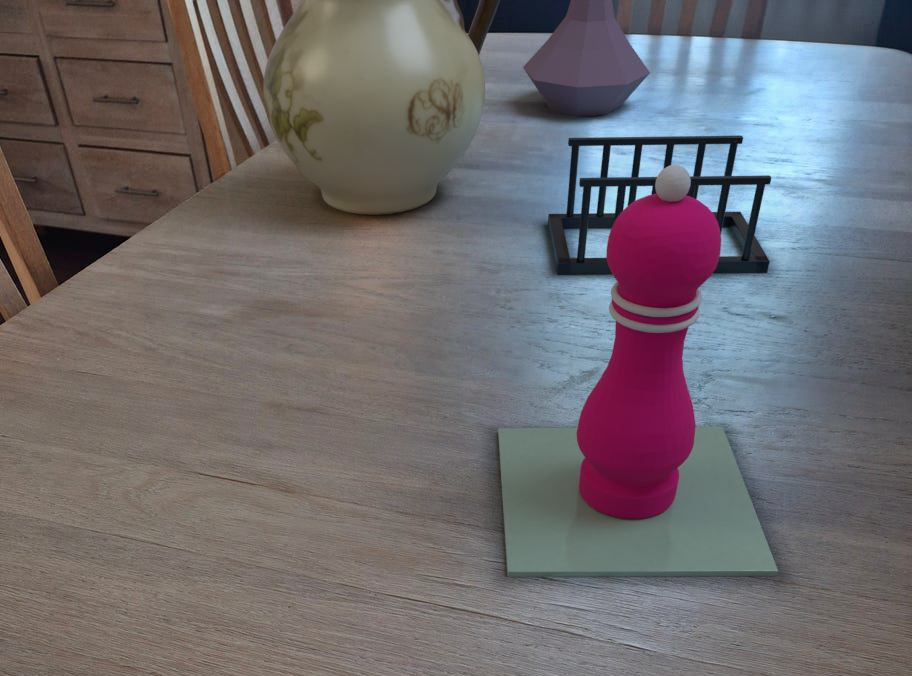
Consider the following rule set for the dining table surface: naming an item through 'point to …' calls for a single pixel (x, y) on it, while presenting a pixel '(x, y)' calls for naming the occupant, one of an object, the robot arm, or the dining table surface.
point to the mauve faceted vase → (586, 62)
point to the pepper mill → (648, 352)
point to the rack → (741, 230)
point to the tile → (617, 539)
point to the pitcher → (377, 97)
